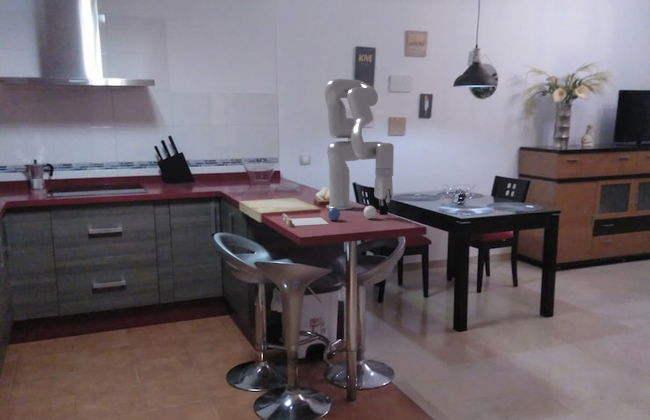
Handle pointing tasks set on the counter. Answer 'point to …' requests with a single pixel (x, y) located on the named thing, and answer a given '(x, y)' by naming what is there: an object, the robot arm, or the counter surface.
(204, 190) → the counter surface
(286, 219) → the stopper rail
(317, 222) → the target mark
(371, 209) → the cue ball
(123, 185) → the counter surface
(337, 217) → the navy ball
